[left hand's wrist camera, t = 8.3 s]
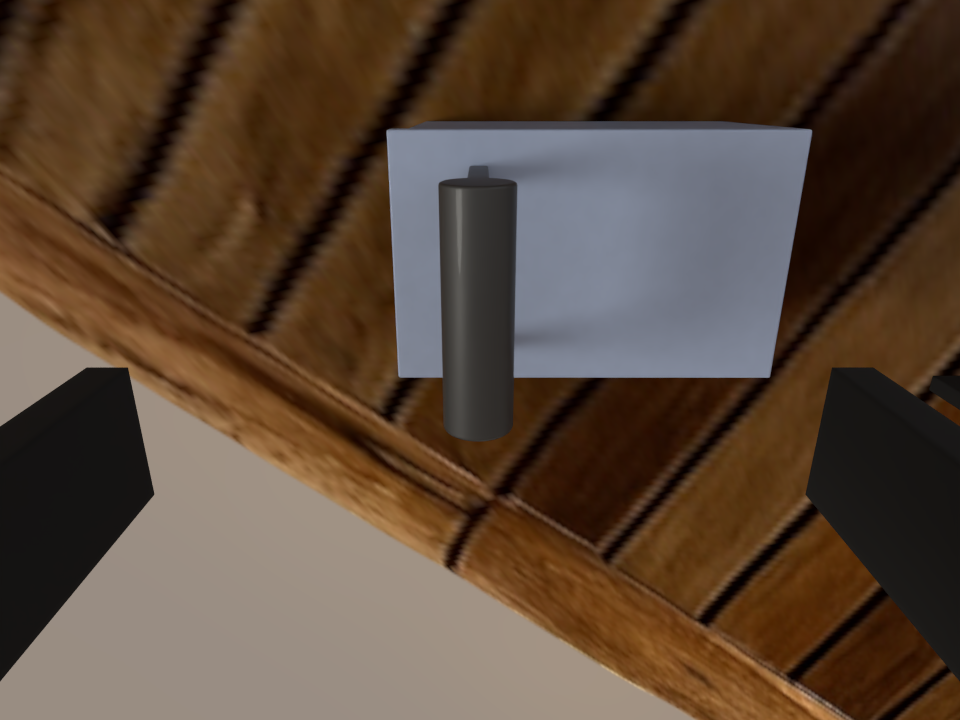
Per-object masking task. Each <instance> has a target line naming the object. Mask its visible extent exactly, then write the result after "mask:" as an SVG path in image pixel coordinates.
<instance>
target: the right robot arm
mask: <svg viewBox="0 0 960 720" xmlns="http://www.w3.org/2000/svg"><path fill="white" fill-rule="evenodd" d="M929 390H930V391H932V392H933V393H935V394H936V395H938V396H939V397H941V398H942V399H944V400H946V401H947V402H949V403H950V404H952V405H953V406H955V407H956V408H958V409H960V376H933V378H932V381H931V385H930V389H929Z"/></svg>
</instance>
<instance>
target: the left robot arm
mask: <svg viewBox="0 0 960 720" xmlns="http://www.w3.org/2000/svg"><path fill="white" fill-rule="evenodd" d="M153 495H154V490H153V486H152V481H151V476H150V471H149V466H148V462H147V457H146V452H145V448H144V443H143V438H142V433H141V428H140V423H139V419H138V414H137V409H136V404H135V400H134V395H133V390H132V385H131V380H130V376H129V371H128V368H85V369H84V370H83V371H81V372H80V373H78V374H77V375H75V376H74V377H72V378H71V379H69V380H68V381H66V382H65V383H64V384H62V385H61V386H59V387H58V388H56V389H55V390H53V391H52V392H50V393H49V394H47V395H46V396H44V397H43V398H41V399H40V400H39V401H37V402H36V403H34V404H33V405H31V406H30V407H28V408H27V409H25V410H24V411H22V412H21V413H20V414H18V415H17V416H15V417H14V418H12V419H11V420H9V421H8V422H6V423H5V424H3V425H2V426H0V681H1V680H2V678H3V677H4V676H5V675H6V674H7V672H8V671H9V670H10V669H11V667H12V666H13V665H14V664H15V663H16V661H17V660H18V659H19V658H20V657H21V655H22V654H23V653H24V652H25V650H26V649H27V648H28V647H29V646H30V644H31V643H32V642H33V641H34V640H35V638H36V637H37V636H38V635H39V634H40V632H41V631H42V630H43V629H44V628H45V626H46V625H47V624H48V623H49V622H50V620H51V619H52V618H53V617H54V615H55V614H56V613H57V612H58V611H59V609H60V608H61V607H62V606H63V605H64V603H65V602H66V601H67V600H68V598H69V597H70V596H71V595H72V594H73V592H74V591H75V590H76V589H77V588H78V586H79V585H80V584H81V583H82V581H83V580H84V579H85V578H86V577H87V575H88V574H89V573H90V572H91V571H92V569H93V568H94V567H95V566H96V565H97V563H98V562H99V561H100V560H101V558H102V557H103V556H104V555H105V554H106V552H107V551H108V550H109V549H110V548H111V546H112V545H113V544H114V543H115V542H116V540H117V539H118V538H119V537H120V535H121V534H122V533H123V532H124V531H125V529H126V528H127V527H128V526H129V525H130V523H131V522H132V521H133V520H134V518H135V517H136V516H137V515H138V514H139V512H140V511H141V510H142V509H143V508H144V506H145V505H146V504H147V503H148V501H149V500H150V499H151V498H152V497H153ZM806 495H807V497H808V498H809V499H810V500H811V502H812V503H813V504H814V505H815V506H816V508H817V509H818V510H819V511H820V512H821V514H822V515H823V516H824V517H825V519H826V520H827V521H828V522H829V523H830V525H831V526H832V527H833V528H834V529H835V531H836V532H837V533H838V534H839V535H840V537H841V538H842V539H843V540H844V542H845V543H846V544H847V545H848V546H849V548H850V549H851V550H852V551H853V552H854V554H855V555H856V556H857V557H858V558H859V560H860V561H861V562H862V563H863V565H864V566H865V567H866V568H867V569H868V571H869V572H870V573H871V574H872V575H873V577H874V578H875V579H876V580H877V582H878V583H879V584H880V585H881V586H882V588H883V589H884V590H885V591H886V592H887V594H888V595H889V596H890V597H891V598H892V600H893V601H894V602H895V603H896V605H897V606H898V607H899V608H900V609H901V611H902V612H903V613H904V614H905V615H906V617H907V618H908V619H909V620H910V622H911V623H912V624H913V625H914V626H915V628H916V629H917V630H918V631H919V632H920V634H921V635H922V636H923V637H924V638H925V640H926V641H927V642H928V643H929V645H930V646H931V647H932V648H933V649H934V651H935V652H936V653H937V654H938V655H939V657H940V658H941V659H942V660H943V661H944V663H945V664H946V665H947V666H948V668H949V669H950V670H951V671H952V672H953V674H954V675H955V676H956V677H957V678H958V680H959V681H960V426H958V425H957V424H955V423H954V422H952V421H951V420H949V419H948V418H946V417H945V416H944V415H942V414H941V413H939V412H938V411H936V410H935V409H933V408H932V407H930V406H929V405H927V404H926V403H924V402H923V401H921V400H920V399H919V398H917V397H916V396H914V395H913V394H911V393H910V392H908V391H907V390H905V389H904V388H902V387H901V386H899V385H898V384H897V383H895V382H894V381H892V380H891V379H889V378H888V377H886V376H885V375H883V374H882V373H880V372H879V371H877V370H876V369H875V368H832V371H831V376H830V380H829V385H828V390H827V395H826V399H825V404H824V409H823V414H822V419H821V423H820V428H819V433H818V438H817V443H816V447H815V452H814V457H813V462H812V466H811V471H810V476H809V481H808V486H807V490H806Z"/></svg>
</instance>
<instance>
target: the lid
mask: <svg viewBox="0 0 960 720" xmlns="http://www.w3.org/2000/svg"><path fill="white" fill-rule="evenodd" d="M811 136H812V130H810V129H389V130H387V148H388V169H389V189H390V210H391V230H392V251H393V271H394V292H395V312H396V333H397V353H398V374H399V377H443V416H444V428H445V430H446V431H447V432H448V433H449V434H450V435H452V436H454V437H456V438H459V439H462V440H468V441H489V440H494V439H497V438H500V437H503V436H504V435H506V434H507V433H509V432H510V430H511V428H512V426H513V388H514V377H629V378H768V377H770V373H771V367H772V361H773V356H774V350H775V344H776V338H777V333H778V327H779V321H780V315H781V309H782V304H783V298H784V292H785V286H786V280H787V275H788V269H789V263H790V257H791V252H792V246H793V240H794V234H795V228H796V223H797V217H798V211H799V205H800V200H801V194H802V188H803V182H804V176H805V171H806V165H807V159H808V153H809V148H810V142H811Z"/></svg>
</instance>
